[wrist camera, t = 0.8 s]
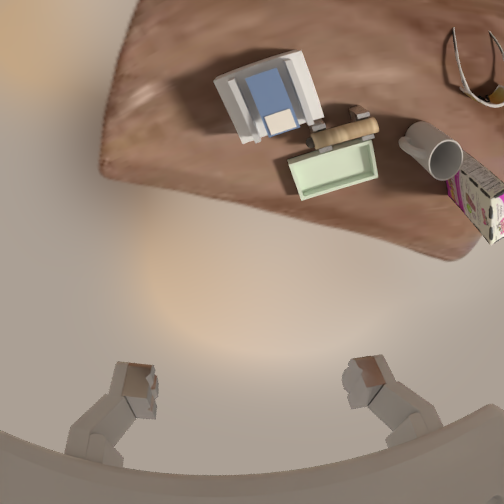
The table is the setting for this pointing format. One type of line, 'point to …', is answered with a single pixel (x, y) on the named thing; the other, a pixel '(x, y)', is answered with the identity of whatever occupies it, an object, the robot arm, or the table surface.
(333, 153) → the tray
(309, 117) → the grey card holder
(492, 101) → the sunglasses
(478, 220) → the candy bar box
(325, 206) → the table surface
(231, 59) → the table surface
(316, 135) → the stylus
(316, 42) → the table surface
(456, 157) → the cup
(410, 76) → the table surface
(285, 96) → the blue box
